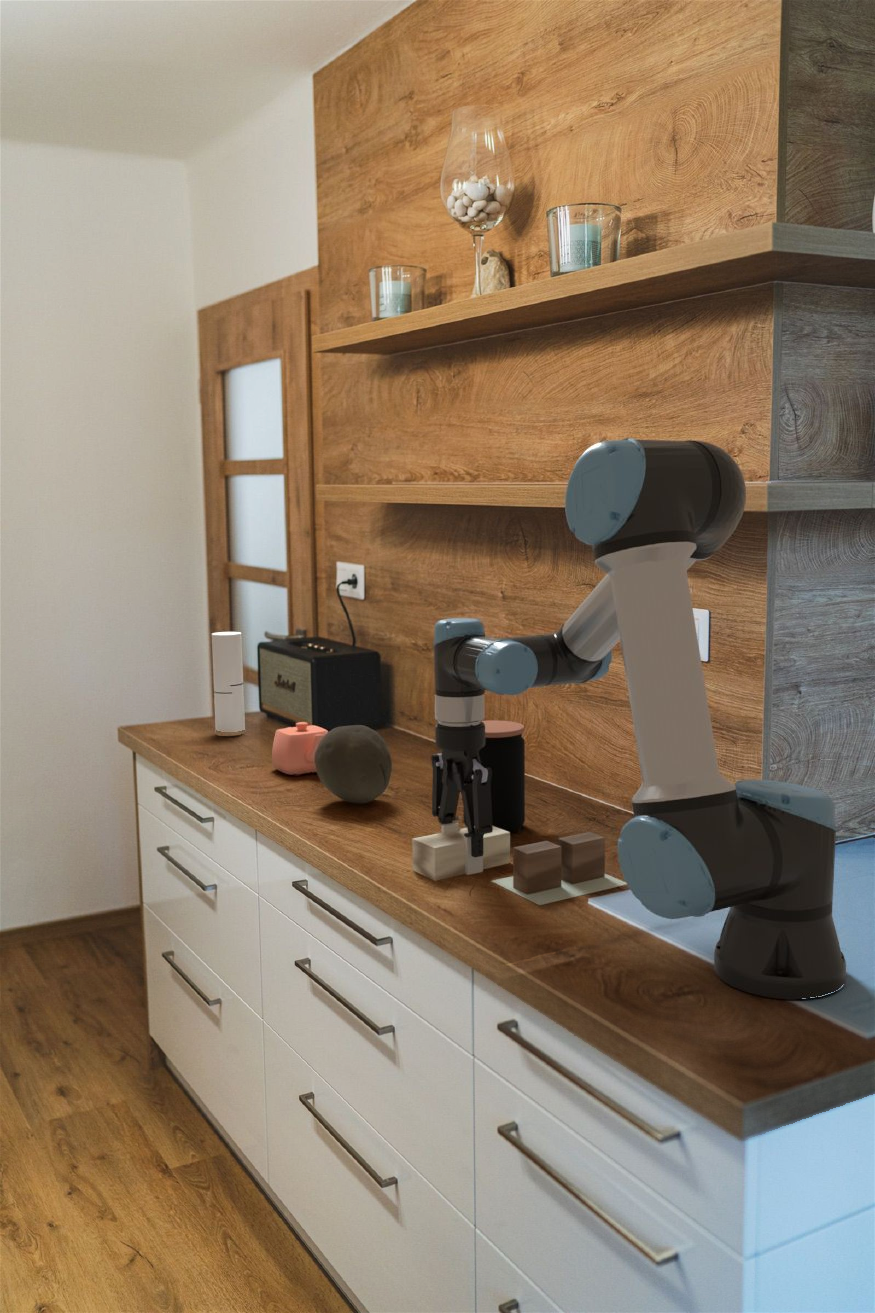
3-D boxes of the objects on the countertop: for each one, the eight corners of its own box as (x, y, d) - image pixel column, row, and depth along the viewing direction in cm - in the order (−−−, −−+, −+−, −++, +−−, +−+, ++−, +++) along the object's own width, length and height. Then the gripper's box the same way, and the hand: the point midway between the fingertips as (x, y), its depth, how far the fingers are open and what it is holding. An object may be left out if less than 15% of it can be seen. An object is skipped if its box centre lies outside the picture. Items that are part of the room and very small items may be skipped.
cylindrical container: (249, 734, 282) (246, 633, 278) (222, 738, 278) (218, 635, 275) (238, 730, 288) (234, 631, 284) (211, 733, 284) (207, 633, 281)
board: (628, 891, 167) (628, 883, 167) (539, 913, 159) (539, 905, 158) (577, 869, 177) (577, 862, 177) (491, 888, 169) (491, 880, 169)
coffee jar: (488, 815, 207) (487, 718, 205) (536, 825, 201) (536, 724, 198) (451, 829, 199) (449, 727, 197) (500, 840, 193) (500, 735, 190)
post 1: (561, 887, 166) (561, 846, 165) (527, 894, 162) (527, 853, 162) (546, 880, 169) (546, 840, 168) (513, 887, 165) (513, 847, 165)
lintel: (510, 870, 177) (510, 832, 176) (435, 887, 169) (434, 848, 168) (486, 860, 182) (486, 823, 181) (412, 877, 174) (412, 838, 173)
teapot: (312, 760, 254) (310, 713, 252) (347, 776, 238) (346, 727, 237) (263, 766, 248) (261, 719, 247) (296, 784, 233) (295, 733, 231)
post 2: (604, 877, 170) (604, 837, 169) (572, 884, 167) (572, 844, 166) (589, 870, 173) (590, 832, 172) (557, 877, 170) (557, 838, 169)
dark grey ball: (379, 790, 226) (377, 716, 224) (401, 808, 213) (400, 729, 211) (309, 798, 221) (306, 721, 219) (327, 816, 208) (325, 735, 206)
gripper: (517, 728, 166) (518, 882, 169) (448, 709, 182) (450, 850, 185) (473, 734, 162) (475, 892, 165) (407, 714, 179) (409, 858, 182)
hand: (462, 870), depth 175 cm, fingers closed on lintel, 6 cm apart
